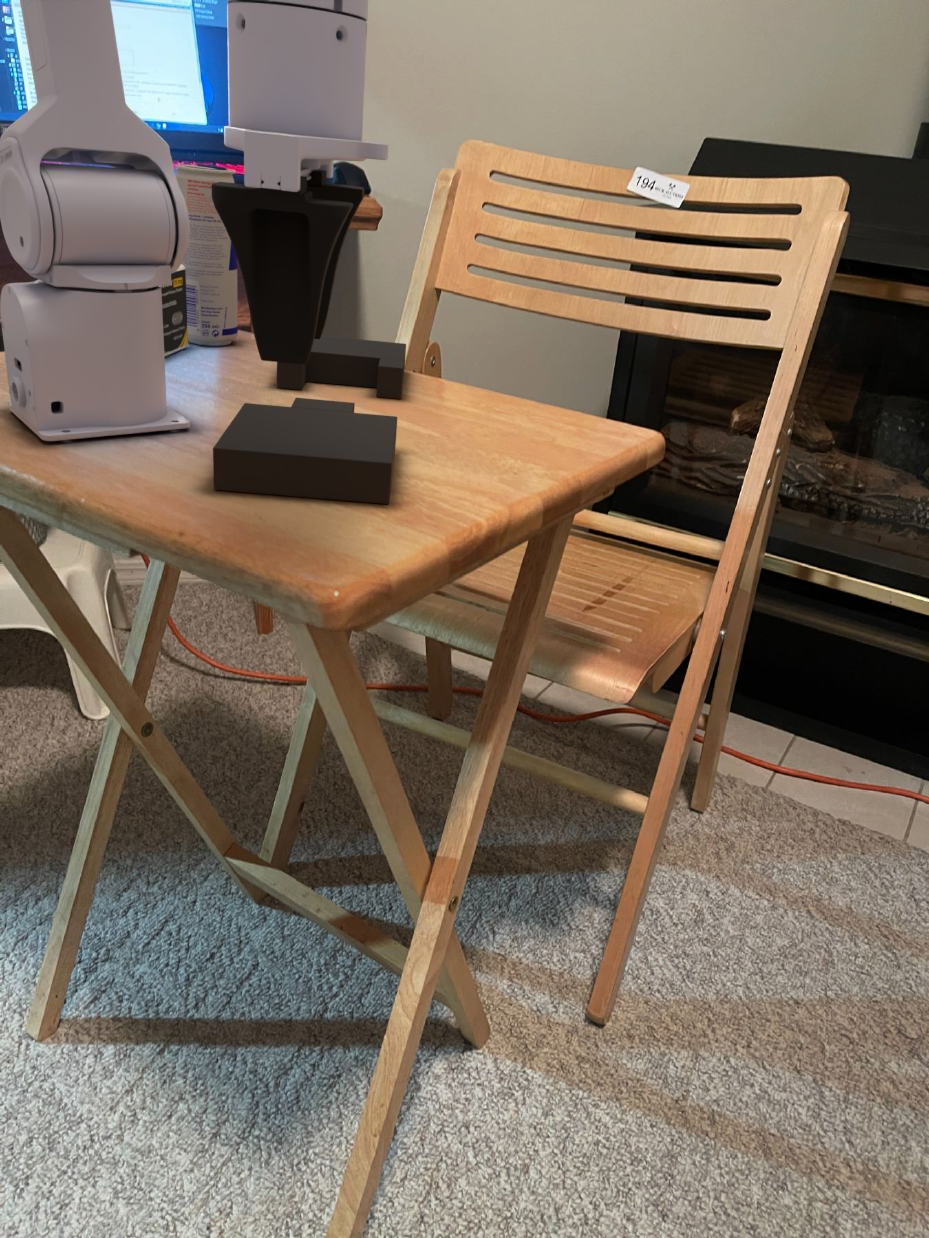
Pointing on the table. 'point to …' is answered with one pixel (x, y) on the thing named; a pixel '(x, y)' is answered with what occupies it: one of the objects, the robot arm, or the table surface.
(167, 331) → the black printed box
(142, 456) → the table surface
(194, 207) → the beverage can
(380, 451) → the loose pad
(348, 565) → the table surface
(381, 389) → the pad
